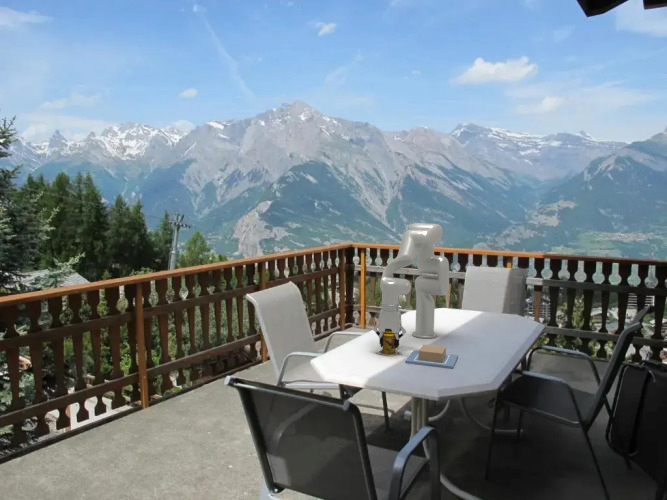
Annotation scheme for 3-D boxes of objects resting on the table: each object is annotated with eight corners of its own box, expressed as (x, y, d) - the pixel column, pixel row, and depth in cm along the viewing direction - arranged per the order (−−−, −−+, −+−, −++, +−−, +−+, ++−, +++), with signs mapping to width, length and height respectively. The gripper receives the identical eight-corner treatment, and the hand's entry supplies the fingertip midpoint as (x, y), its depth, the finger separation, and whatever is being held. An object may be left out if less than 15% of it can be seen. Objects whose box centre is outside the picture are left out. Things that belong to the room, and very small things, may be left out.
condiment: (392, 356, 226) (393, 330, 225) (375, 353, 230) (376, 327, 229) (399, 352, 232) (399, 326, 231) (382, 349, 236) (383, 324, 235)
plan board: (413, 352, 233) (413, 341, 233) (457, 357, 227) (458, 346, 226) (405, 363, 217) (405, 351, 216) (452, 368, 210) (453, 357, 209)
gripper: (410, 307, 229) (409, 346, 231) (373, 304, 235) (373, 342, 237) (407, 311, 222) (406, 351, 224) (369, 307, 228) (368, 346, 230)
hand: (389, 346), depth 230 cm, fingers closed on condiment, 6 cm apart
